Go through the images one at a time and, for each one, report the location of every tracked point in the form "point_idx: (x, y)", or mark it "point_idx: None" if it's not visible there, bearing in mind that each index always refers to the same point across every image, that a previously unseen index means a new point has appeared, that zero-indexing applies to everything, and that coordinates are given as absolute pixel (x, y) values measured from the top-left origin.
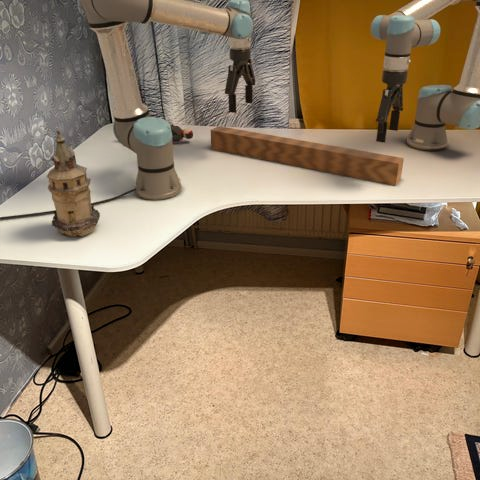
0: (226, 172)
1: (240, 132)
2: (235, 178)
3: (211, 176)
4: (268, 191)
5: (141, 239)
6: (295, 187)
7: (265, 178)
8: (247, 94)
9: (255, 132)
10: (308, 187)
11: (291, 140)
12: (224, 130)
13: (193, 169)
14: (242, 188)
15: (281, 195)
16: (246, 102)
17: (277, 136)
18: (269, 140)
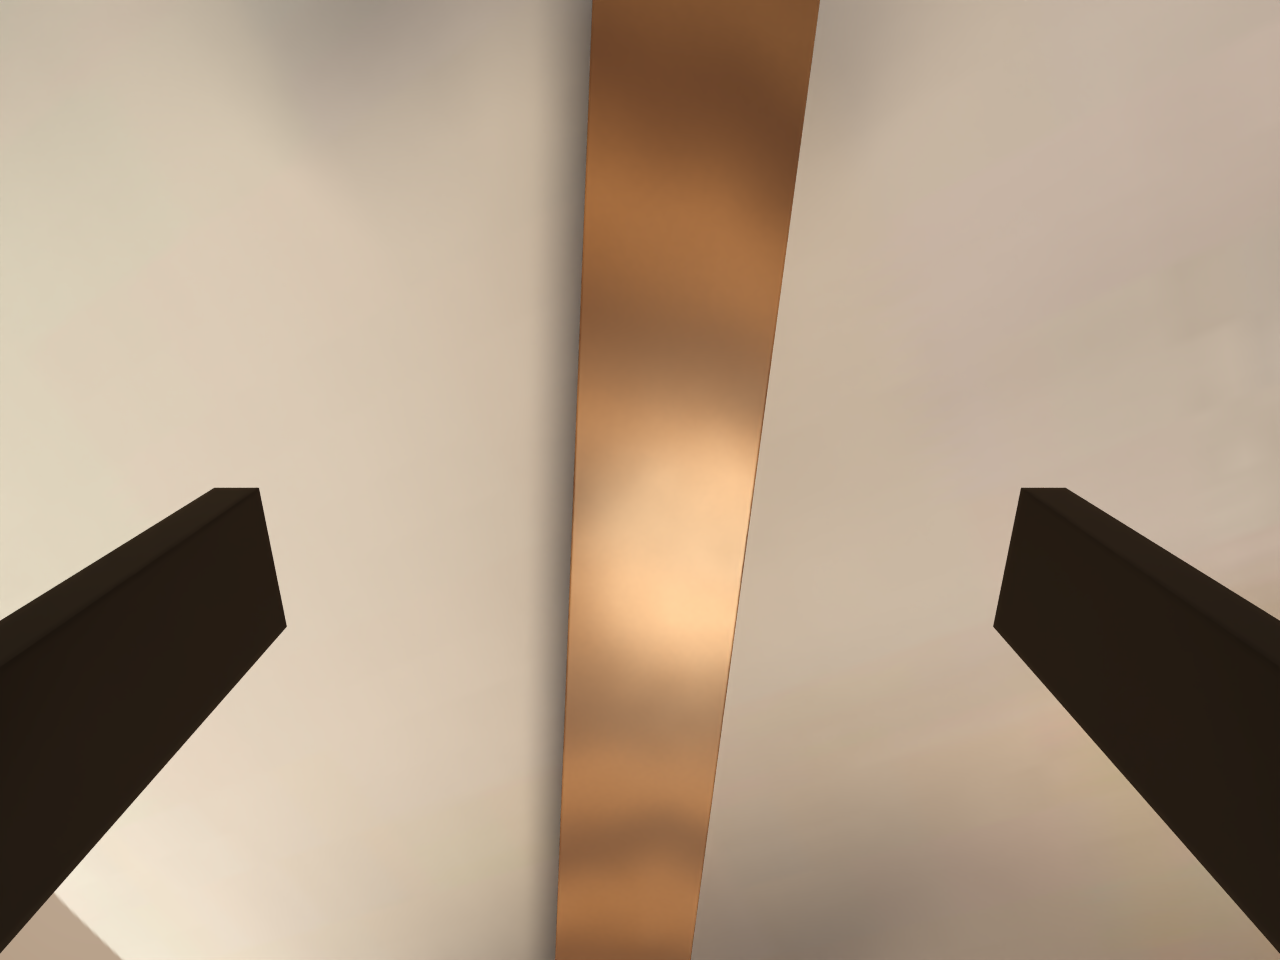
0: (184, 451)
1: (676, 379)
2: None
3: (36, 381)
4: None
5: None
6: (259, 905)
7: (267, 729)
8: (1132, 642)
9: (744, 536)
10: (302, 953)
11: (654, 889)
12: (666, 134)
13: (41, 139)
14: None
15: (112, 883)
16: (1021, 512)
17: (707, 765)
18: (565, 746)
